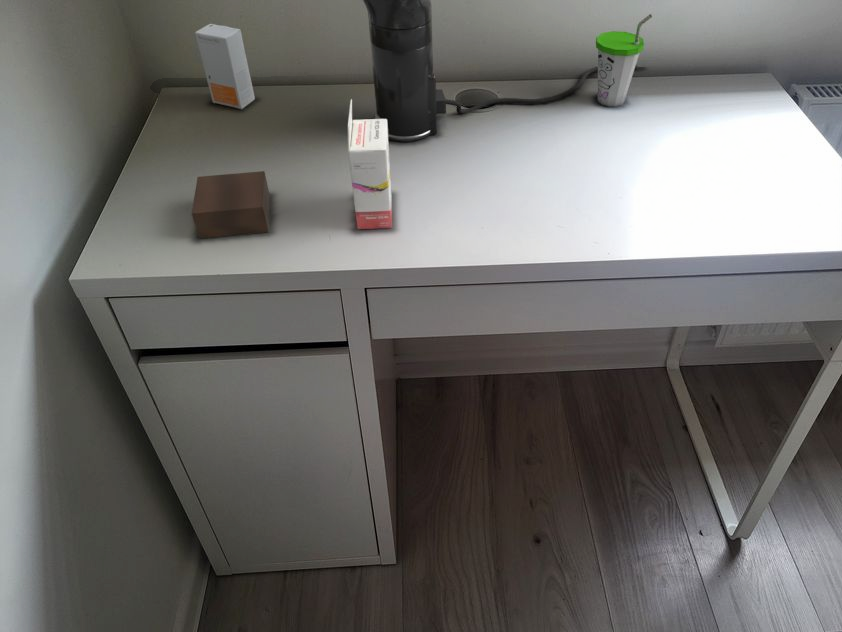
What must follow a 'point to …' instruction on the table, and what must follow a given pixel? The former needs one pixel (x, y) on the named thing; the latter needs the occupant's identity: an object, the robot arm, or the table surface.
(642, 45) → the cup
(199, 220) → the block
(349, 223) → the table surface
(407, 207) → the table surface
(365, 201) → the ink cartridge box
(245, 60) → the cosmetic box
